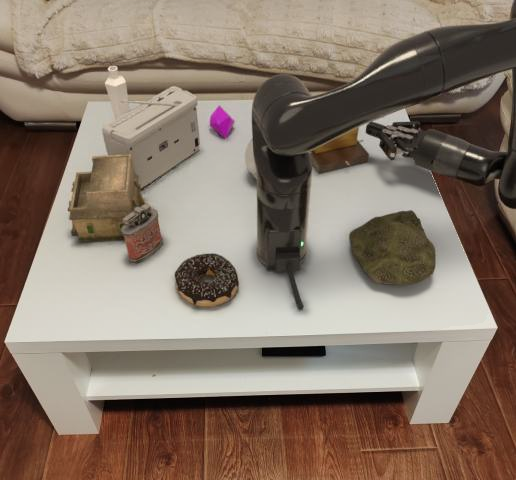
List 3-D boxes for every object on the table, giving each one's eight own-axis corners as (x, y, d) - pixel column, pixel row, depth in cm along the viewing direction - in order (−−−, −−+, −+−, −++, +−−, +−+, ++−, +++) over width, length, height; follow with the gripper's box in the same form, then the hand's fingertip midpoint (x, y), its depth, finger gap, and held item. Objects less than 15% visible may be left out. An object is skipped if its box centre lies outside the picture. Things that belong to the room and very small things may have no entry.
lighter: (155, 236, 112) (146, 195, 104) (167, 243, 110) (159, 202, 102) (124, 258, 108) (113, 217, 100) (137, 266, 107) (126, 225, 99)
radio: (179, 137, 132) (168, 50, 116) (205, 150, 129) (197, 62, 113) (112, 180, 122) (89, 92, 106) (138, 196, 119) (119, 107, 103)
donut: (209, 255, 108) (208, 240, 105) (252, 288, 103) (251, 272, 100) (164, 285, 104) (161, 270, 101) (206, 320, 99) (204, 305, 95)
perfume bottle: (113, 128, 134) (99, 65, 122) (131, 124, 136) (118, 61, 124) (119, 138, 132) (104, 75, 120) (137, 134, 133) (124, 71, 121)
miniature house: (150, 194, 120) (141, 146, 110) (147, 239, 111) (137, 192, 102) (78, 198, 119) (63, 150, 110) (70, 244, 110) (53, 196, 101)
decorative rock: (353, 299, 103) (355, 263, 95) (347, 236, 112) (348, 198, 104) (437, 294, 102) (446, 257, 94) (424, 231, 111) (431, 191, 102)
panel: (317, 180, 122) (318, 172, 120) (292, 144, 130) (292, 136, 128) (376, 166, 125) (378, 157, 123) (348, 132, 133) (349, 123, 131)
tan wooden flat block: (315, 153, 124) (318, 123, 119) (312, 150, 125) (315, 119, 120) (356, 144, 127) (361, 114, 121) (353, 140, 127) (357, 110, 122)
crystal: (207, 131, 133) (205, 113, 130) (221, 121, 136) (220, 103, 132) (224, 139, 131) (222, 121, 128) (238, 129, 134) (238, 111, 130)
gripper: (461, 122, 115) (384, 96, 121) (434, 154, 109) (354, 125, 115) (451, 154, 121) (378, 128, 127) (425, 186, 115) (350, 157, 121)
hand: (367, 127), depth 121 cm, fingers closed
